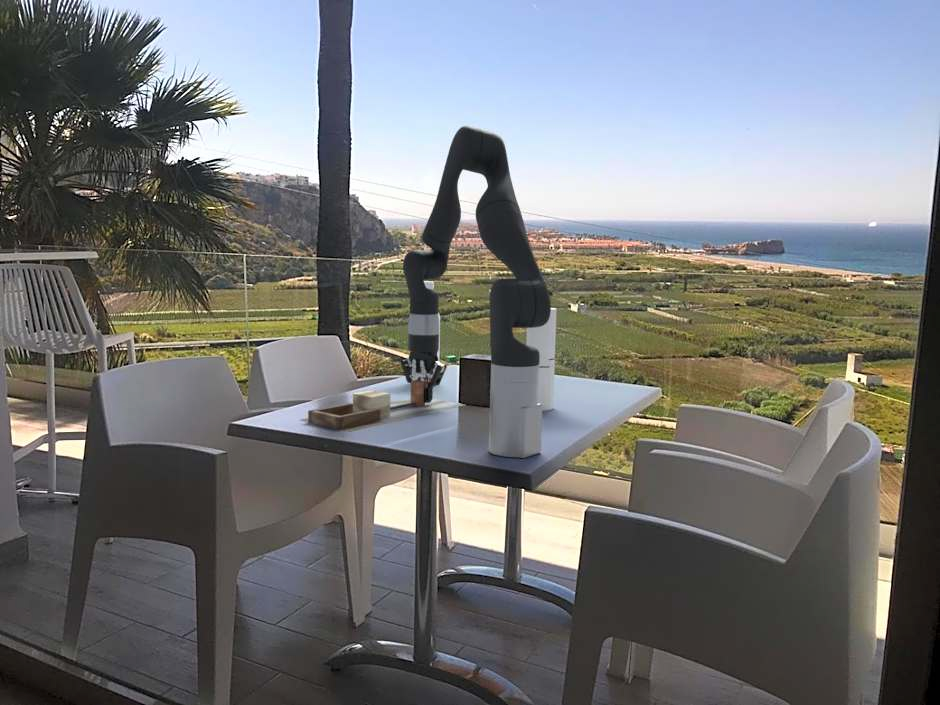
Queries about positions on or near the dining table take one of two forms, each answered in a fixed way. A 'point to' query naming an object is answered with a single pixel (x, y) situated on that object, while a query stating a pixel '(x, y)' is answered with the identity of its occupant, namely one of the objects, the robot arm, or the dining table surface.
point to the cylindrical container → (545, 358)
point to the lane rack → (372, 414)
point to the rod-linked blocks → (387, 399)
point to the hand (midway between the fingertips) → (422, 401)
